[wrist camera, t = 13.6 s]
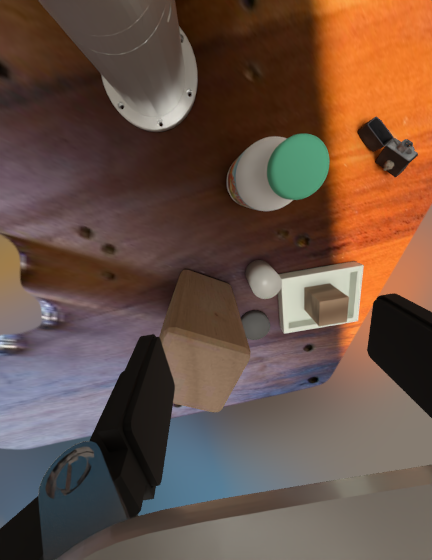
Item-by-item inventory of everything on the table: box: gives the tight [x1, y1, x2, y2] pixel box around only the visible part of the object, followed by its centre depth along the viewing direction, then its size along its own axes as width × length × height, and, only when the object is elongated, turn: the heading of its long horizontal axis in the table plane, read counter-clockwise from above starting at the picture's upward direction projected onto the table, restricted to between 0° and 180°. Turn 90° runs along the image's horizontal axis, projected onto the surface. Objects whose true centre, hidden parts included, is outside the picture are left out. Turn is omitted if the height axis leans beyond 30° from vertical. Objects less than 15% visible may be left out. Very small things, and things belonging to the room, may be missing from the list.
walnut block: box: [304, 283, 349, 326], centre depth 40 cm, size 5×5×6 cm
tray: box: [278, 261, 364, 333], centre depth 42 cm, size 12×15×2 cm
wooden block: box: [159, 270, 250, 412], centre depth 33 cm, size 10×10×20 cm
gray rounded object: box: [241, 310, 270, 340], centre depth 44 cm, size 6×6×2 cm
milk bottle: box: [227, 134, 329, 211], centre depth 25 cm, size 8×8×20 cm
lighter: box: [358, 117, 418, 177], centre depth 32 cm, size 9×2×6 cm
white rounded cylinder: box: [245, 260, 282, 299], centre depth 38 cm, size 5×5×6 cm
